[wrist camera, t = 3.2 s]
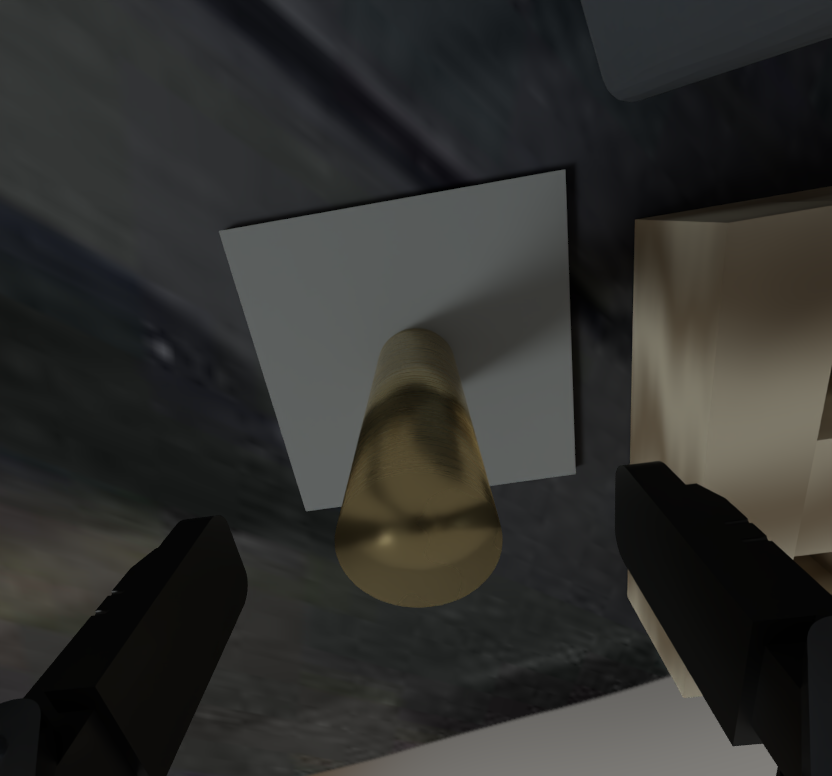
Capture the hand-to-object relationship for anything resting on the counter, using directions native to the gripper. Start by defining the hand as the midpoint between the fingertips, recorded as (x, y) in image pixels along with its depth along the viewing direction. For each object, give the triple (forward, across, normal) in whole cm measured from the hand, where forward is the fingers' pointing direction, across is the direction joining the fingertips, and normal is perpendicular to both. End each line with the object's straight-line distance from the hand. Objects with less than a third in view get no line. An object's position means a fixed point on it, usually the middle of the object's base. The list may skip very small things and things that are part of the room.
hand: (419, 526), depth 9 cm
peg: (+9, 0, -1) cm, 9 cm away
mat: (+9, 0, -1) cm, 9 cm away
